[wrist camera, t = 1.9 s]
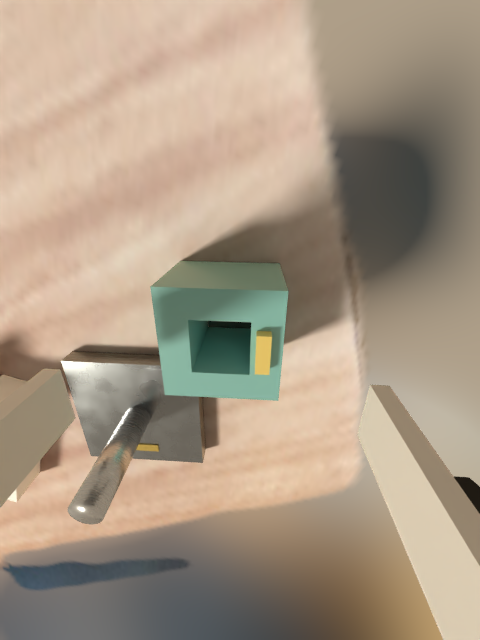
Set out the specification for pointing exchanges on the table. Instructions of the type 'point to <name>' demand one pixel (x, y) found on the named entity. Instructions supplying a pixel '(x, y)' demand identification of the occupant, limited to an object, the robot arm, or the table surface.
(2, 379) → the bracket
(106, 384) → the shaft base
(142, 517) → the table surface
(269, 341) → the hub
